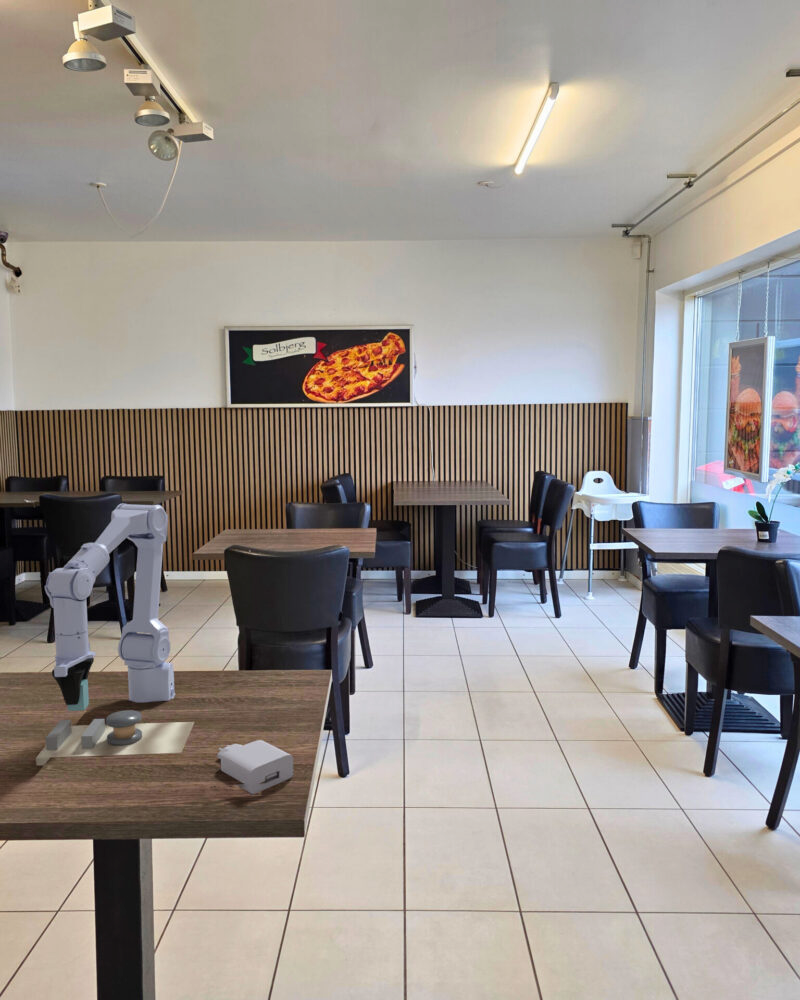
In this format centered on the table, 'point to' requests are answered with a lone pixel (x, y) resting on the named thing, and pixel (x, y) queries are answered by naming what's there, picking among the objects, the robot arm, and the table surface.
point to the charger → (256, 765)
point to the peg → (81, 698)
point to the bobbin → (124, 728)
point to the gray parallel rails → (64, 730)
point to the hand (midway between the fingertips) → (75, 700)
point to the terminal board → (152, 742)
